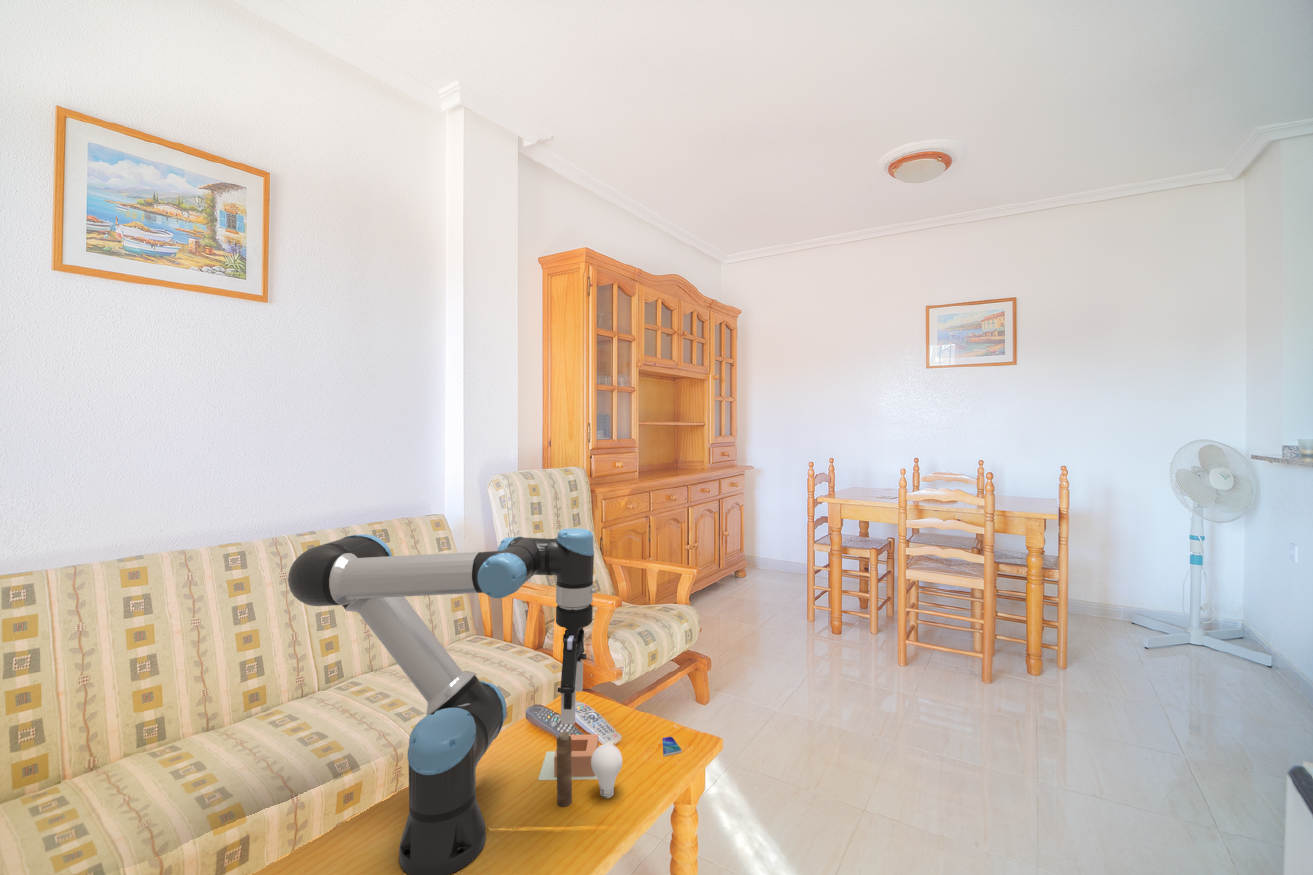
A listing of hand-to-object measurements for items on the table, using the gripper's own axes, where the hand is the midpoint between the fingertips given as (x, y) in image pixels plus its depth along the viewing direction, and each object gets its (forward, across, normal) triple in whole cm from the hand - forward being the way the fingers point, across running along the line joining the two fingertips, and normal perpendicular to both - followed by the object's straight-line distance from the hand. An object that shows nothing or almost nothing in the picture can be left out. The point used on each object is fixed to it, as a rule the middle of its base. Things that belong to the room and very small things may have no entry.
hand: (572, 706), depth 116 cm
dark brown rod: (+21, 0, +1) cm, 21 cm away
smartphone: (+21, +19, -17) cm, 33 cm away
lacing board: (+21, +13, 0) cm, 24 cm away
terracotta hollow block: (+20, +13, 0) cm, 24 cm away
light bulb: (+21, +2, -8) cm, 22 cm away
